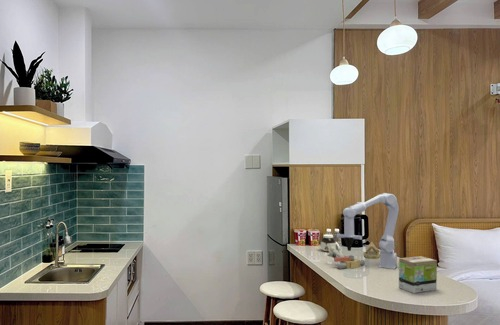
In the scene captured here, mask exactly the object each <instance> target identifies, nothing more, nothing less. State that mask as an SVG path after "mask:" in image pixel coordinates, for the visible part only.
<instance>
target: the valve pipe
mask: <svg viewBox="0 0 500 325" xmlns="http://www.w3.org/2000/svg"><path fill="white" fill-rule="evenodd" d="M365 265H366V261H365V259H357V258H354V261H341V263H337V265H336V268H337V269H338V270H342V269H347V270H349V269H350V270H352V269H357V268H360V267H361V266H365Z"/></svg>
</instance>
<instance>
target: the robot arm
mask: <svg viewBox="0 0 500 325" xmlns="http://www.w3.org/2000/svg"><path fill="white" fill-rule="evenodd" d="M379 203H380V204H383V205H385V206H386V207H387V209H388V213H387V218H386V222H385V228H384V232H383V235H382V236H381V238H380V240H379V242H378V248H380V250H379V251H380V252H379V254H380V257H379V265H378V267H379V268H386V269H392V270H396V268H397V267H398V254H397V252H394V250H395V239H394V234H395V230H396V224H397V220H398V215H399V210H400V207H399V203H398V198H397V197H396V196H395V194H393V193H387V192H382V193H379V194H378V195H376V196H375V197H372V198H370V199H368V200H367V201H365V202H362V201H357V202H356V203H355V204H353V205H350V206H349V207H346V208H343V211H342V215H343V217H344V219H343V223H344V224H343V227H344V228H343V229H344V231H343V232H344V233H337V234H336V238H338V239H339V238H341V239H343V240H344V243H345V245H346V248H347V251H349V252H350V251H351V250H352V246H353V243H354V241H355V240H361V241H362V240H363V235H356V234H355V217H356V215H359V214H360V213H362V212H365V211H366V209H367V208H369V207H371V206H373V205H376V204H379Z"/></svg>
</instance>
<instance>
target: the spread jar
mask: <svg viewBox="0 0 500 325" xmlns="http://www.w3.org/2000/svg"><path fill="white" fill-rule="evenodd" d="M331 247H335V248H336V250H338V251H339V252H341V247H340V244H339V243H338V242H337V241H336V239H335V238H334V235H333V234H326V233H325V234H323V237H322V238H321V240H320V249H321V252H324V253H327V254H328V253H329V251H330V248H331Z"/></svg>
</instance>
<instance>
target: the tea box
mask: <svg viewBox="0 0 500 325" xmlns="http://www.w3.org/2000/svg"><path fill="white" fill-rule="evenodd" d="M398 259H399V263H398V288H399V289H402V290H404V291H407V292H408V293H409V292H410V293H411V294H416V293H421V292H422V293H423V292H430V290H431V291H436V290H437V281H438V280H437V276H438V275H437V274H438V273H437V270H438V261H437V259H432V258H429V257H426V256H423V255H420V256H410V257H400V258H398Z"/></svg>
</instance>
